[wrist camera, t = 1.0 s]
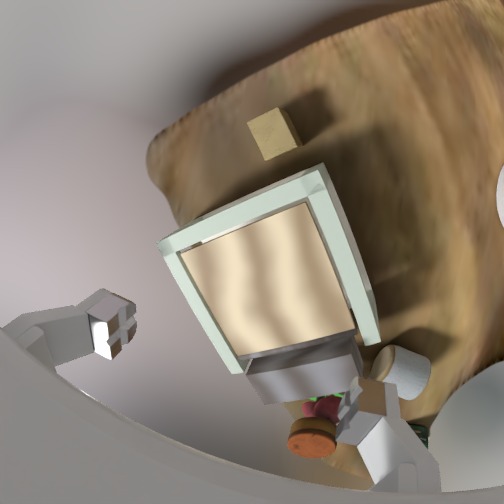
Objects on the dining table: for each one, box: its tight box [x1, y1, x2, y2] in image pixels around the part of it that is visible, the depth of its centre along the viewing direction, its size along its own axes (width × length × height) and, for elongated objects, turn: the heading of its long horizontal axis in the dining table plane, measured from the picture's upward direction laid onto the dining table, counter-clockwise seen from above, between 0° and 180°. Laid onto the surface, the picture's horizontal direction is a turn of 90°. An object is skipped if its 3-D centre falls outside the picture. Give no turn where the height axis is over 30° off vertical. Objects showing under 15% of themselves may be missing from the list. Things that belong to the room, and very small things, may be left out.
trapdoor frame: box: [156, 163, 381, 374], centre depth 39 cm, size 21×21×10 cm
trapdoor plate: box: [181, 201, 363, 404], centre depth 35 cm, size 16×24×5 cm
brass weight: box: [247, 108, 303, 161], centre depth 35 cm, size 4×5×6 cm
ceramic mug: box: [369, 345, 431, 400], centre depth 41 cm, size 11×8×8 cm
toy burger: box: [287, 391, 347, 458], centre depth 43 cm, size 12×13×15 cm
